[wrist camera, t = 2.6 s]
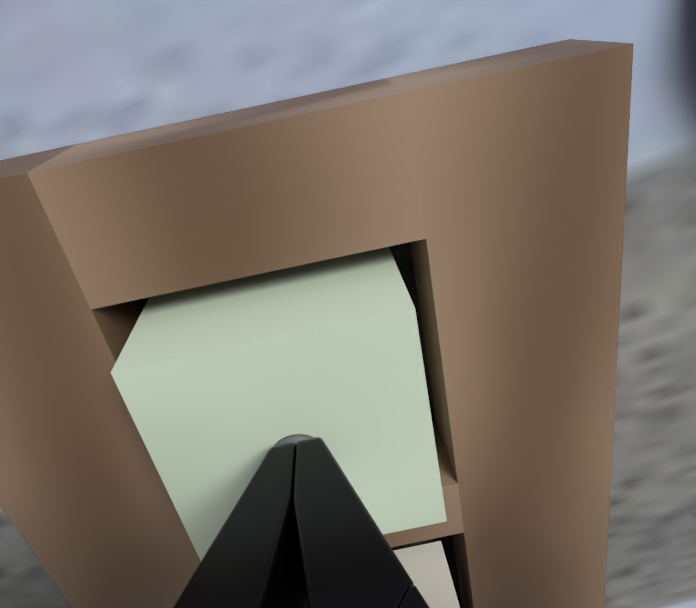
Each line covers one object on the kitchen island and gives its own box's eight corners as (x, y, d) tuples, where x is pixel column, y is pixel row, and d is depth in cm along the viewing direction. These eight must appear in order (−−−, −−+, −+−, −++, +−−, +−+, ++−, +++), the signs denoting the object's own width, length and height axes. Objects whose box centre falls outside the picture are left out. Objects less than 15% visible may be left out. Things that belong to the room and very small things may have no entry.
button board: (570, 39, 10) (633, 43, 8) (568, 734, 21) (593, 801, 19) (-106, 183, 10) (-197, 220, 8) (256, 798, 21) (253, 870, 19)
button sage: (383, 235, 11) (416, 311, 8) (414, 416, 13) (448, 525, 10) (155, 284, 11) (108, 376, 8) (223, 455, 13) (204, 576, 10)
